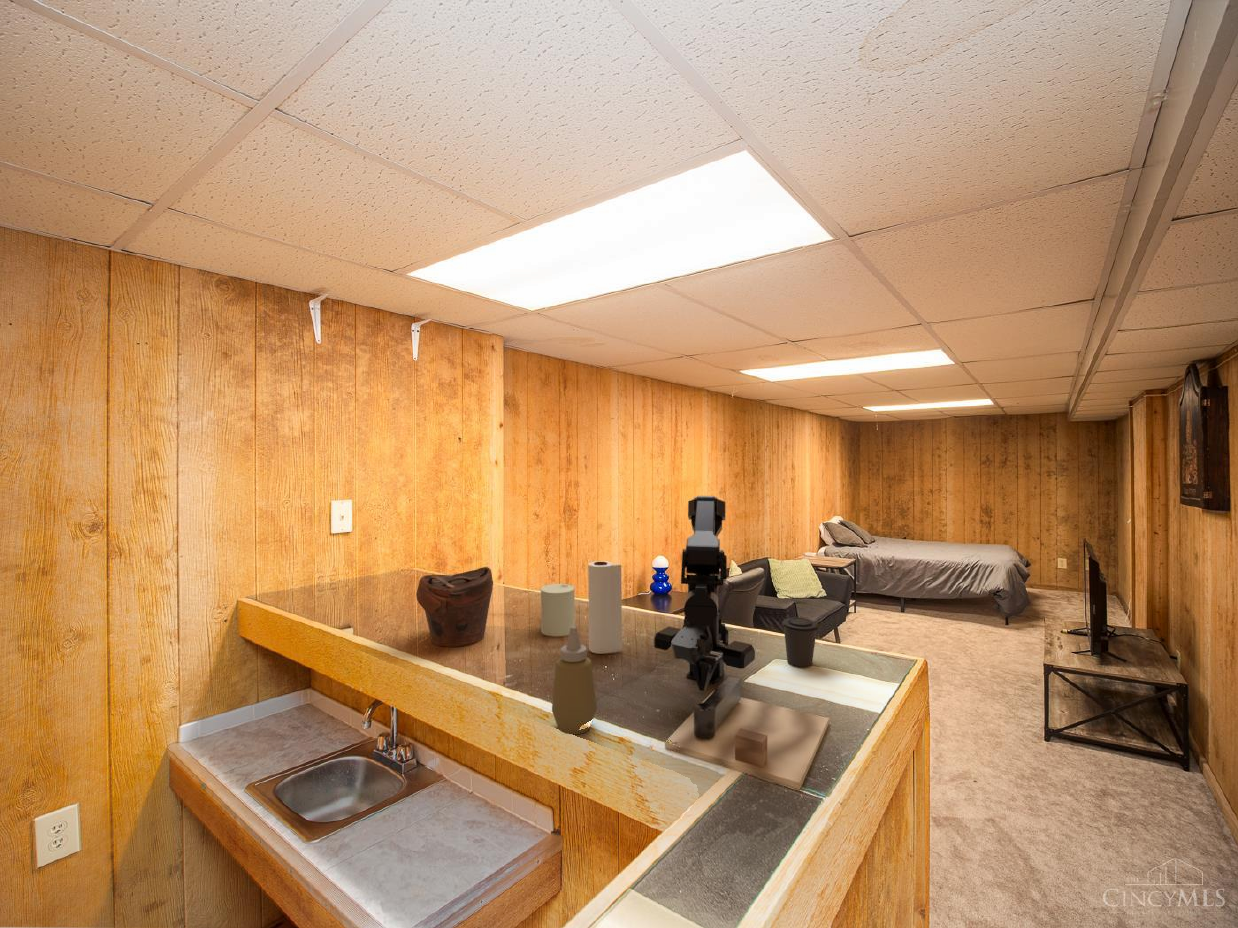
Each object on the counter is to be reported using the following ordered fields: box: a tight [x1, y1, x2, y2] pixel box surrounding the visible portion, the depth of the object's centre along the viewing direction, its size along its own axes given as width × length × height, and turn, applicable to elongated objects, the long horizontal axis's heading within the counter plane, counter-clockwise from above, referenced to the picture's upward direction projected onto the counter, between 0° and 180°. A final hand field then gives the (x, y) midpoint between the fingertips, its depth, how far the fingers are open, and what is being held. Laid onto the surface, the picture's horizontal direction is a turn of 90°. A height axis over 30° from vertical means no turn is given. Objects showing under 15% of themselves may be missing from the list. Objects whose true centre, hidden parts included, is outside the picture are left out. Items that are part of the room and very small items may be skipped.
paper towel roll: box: [587, 560, 623, 655], centre depth 137 cm, size 7×6×21 cm
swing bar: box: [693, 675, 742, 739], centre depth 101 cm, size 17×4×4 cm, turn 149°
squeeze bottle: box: [551, 626, 597, 735], centre depth 101 cm, size 8×8×18 cm
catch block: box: [735, 728, 767, 768], centre depth 89 cm, size 4×2×4 cm, turn 59°
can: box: [540, 583, 576, 638], centre depth 151 cm, size 9×9×12 cm
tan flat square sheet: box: [664, 690, 830, 790], centre depth 98 cm, size 22×22×1 cm
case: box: [415, 566, 494, 648], centre depth 145 cm, size 18×20×18 cm
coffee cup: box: [781, 617, 820, 669], centre depth 129 cm, size 8×8×10 cm
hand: (702, 690), depth 108 cm, fingers closed
